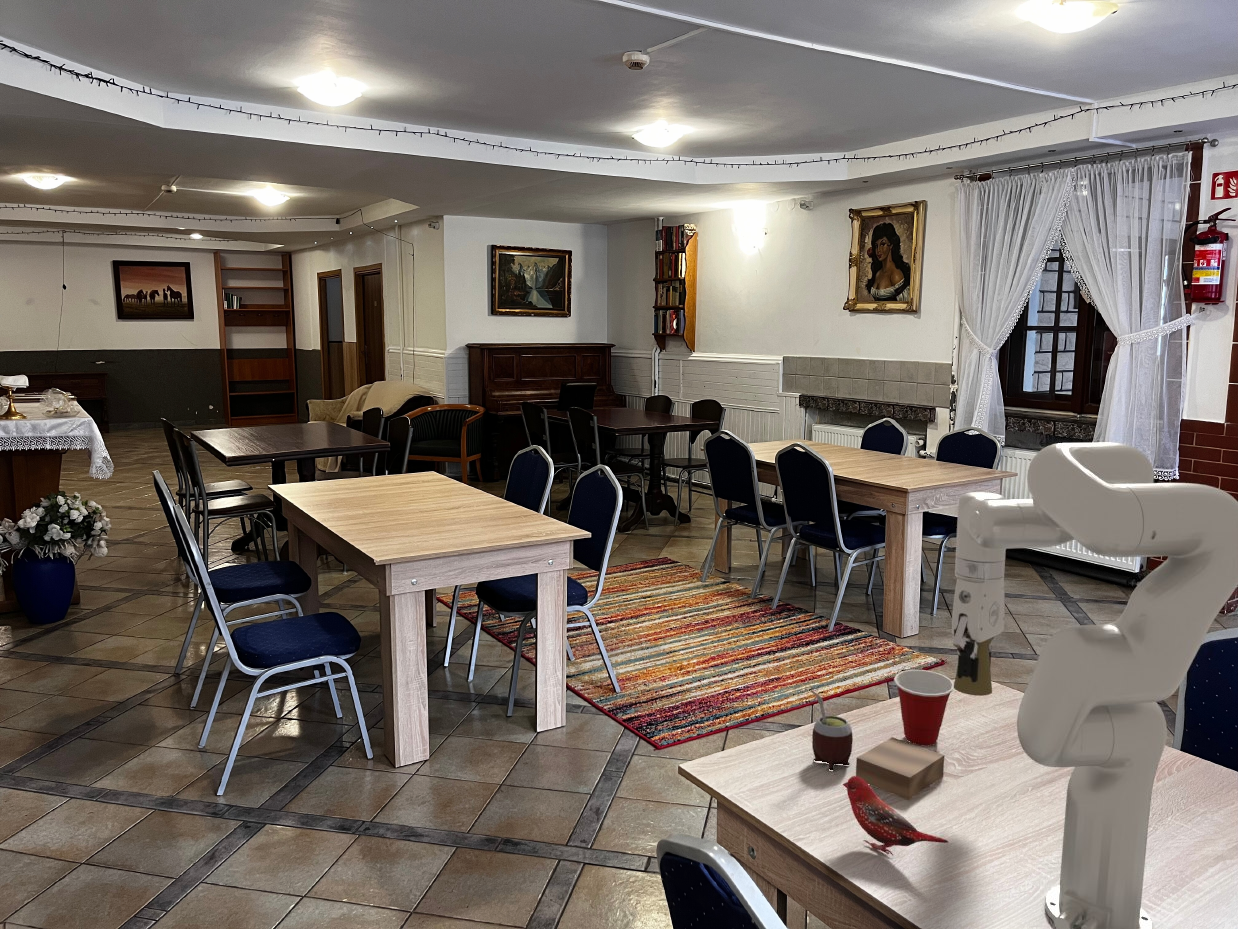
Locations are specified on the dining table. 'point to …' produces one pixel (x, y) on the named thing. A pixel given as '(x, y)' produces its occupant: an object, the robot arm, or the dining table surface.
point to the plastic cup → (922, 704)
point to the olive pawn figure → (984, 673)
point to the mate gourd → (831, 738)
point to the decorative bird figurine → (882, 818)
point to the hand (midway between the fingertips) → (973, 675)
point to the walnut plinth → (900, 768)
